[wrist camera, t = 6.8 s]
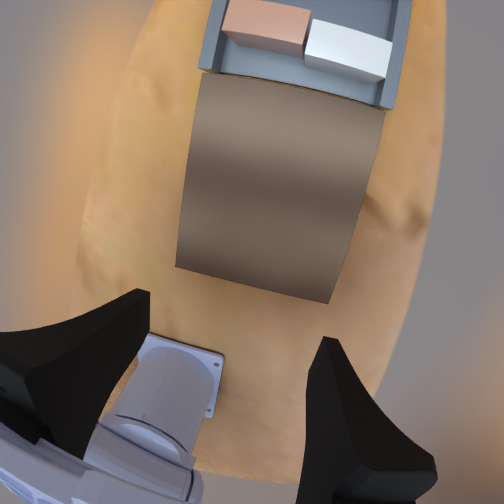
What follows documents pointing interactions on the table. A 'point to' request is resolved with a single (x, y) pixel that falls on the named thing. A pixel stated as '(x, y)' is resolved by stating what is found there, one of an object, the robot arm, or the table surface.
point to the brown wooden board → (274, 184)
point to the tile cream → (347, 52)
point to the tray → (291, 68)
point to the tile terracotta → (268, 26)
